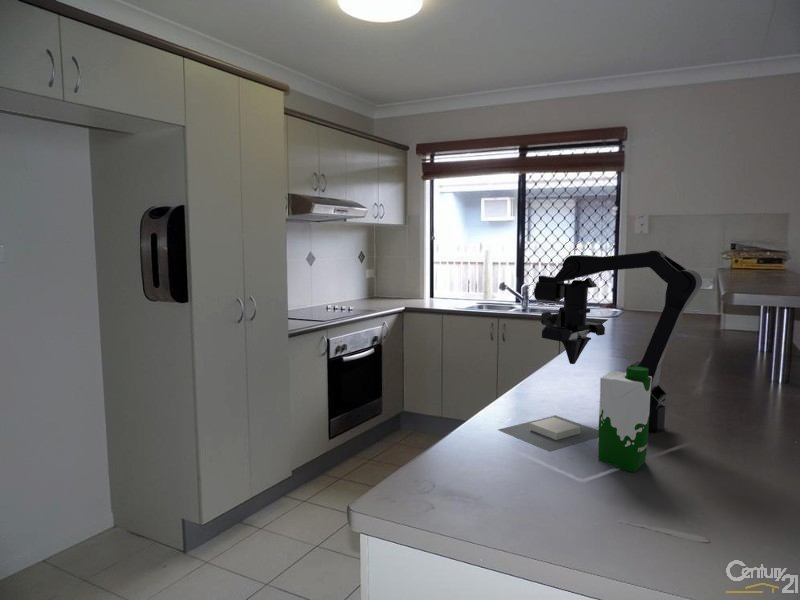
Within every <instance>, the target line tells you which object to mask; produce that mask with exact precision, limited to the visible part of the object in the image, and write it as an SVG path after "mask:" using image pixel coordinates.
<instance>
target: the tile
mask: <svg viewBox="0 0 800 600" xmlns="http://www.w3.org/2000/svg"><path fill="white" fill-rule="evenodd" d="M530 430H532V431H534V432H536V433H539V434H541V435H544V436H547V437H549V438H552V439H554V440H559V439H562V438H566V437H570V436H573V435H577V434H580V426H577V425H574V424H571V423H568V422H566V421H563V420H560V419H557V418H554V417H553V418H549V419H544V420H540V421H536V422H532V423H530Z"/></svg>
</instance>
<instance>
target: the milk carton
mask: <svg viewBox="0 0 800 600" xmlns="http://www.w3.org/2000/svg"><path fill="white" fill-rule="evenodd" d="M648 372H649V369H648V368H645V367H640V366H630V365H629V366H627V367H626V371H625V372H622V371H617V370H616V371H614V370H612V371H611V372H608V373H606V374H605V375H602V376H601V377H599V379H600V381H599V382H600V383H599V385H600V386H599V387H600V388H599V392H600V393H599V412H598V416H599V417H598V430H599V432H598V438H597V440H598V441H597V444H598V448H597V449H598V454H597V455H598V462H599V463H600V462H601V463H604V464H609V465H612V466H615V469H618V468H619V469H618V470H622V471H626V470H627V471H626V472H630V471H631V472H630V473H634V472H635V473H636V472H637V471H638V470H639V469H640V468H641V467H642V466H643V465H644V464H645V462H646V458H647V451H648V442H649V432H648V428H649V410H650V394H651V383H652V377H651V376H648Z"/></svg>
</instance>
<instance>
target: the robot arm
mask: <svg viewBox="0 0 800 600" xmlns="http://www.w3.org/2000/svg"><path fill="white" fill-rule="evenodd" d="M643 268H650V269H651V270H652V271H653V272H654V273H655V274H657V276H658V277H659V278H660V279H661V280H663V281H664V282H665V283H666V284H667V285H666V290H665V298H664V299H665V300H664V307H663V309H662V311H661V314H660V316H659V319H658V322H657V324H656V326H655V328H654V331H653V333H652V336H651V338H650V340H649V342H648V345H647V348H646V350H645V352H644V355H643V358H642V359H641V361H638V360H637V361H636V362H634V363H632V364H631V365H629V366H640V367H645V368H648V369H649V372H648V376H651V377H652V383H651V394H650V410H649V428H648V434H657V433H660V432H662V431H666V430H668V429H669V428H668V427H666V426H665V425H666V424H665V422H666V421H665V420H666V409H667V408H666V406H665V405H663V403H665V401H666V399H667V397H668V393H667V392H666V391H665V390H664V389H663V388H662V387H661V385H659V381H660V377H661V368H662V362H663V360H664V358H665V355H666V352H667V351H668V348H669V346H670V344H671V342H672V339H673V337H674V334H675V332H676V329H678V326H679V323H680V321H681V318H682V317H683V314H684V311H685V310H686V308H687V307H688V306H689V305H690V303H691V302H692V301H693V300H694V298H695V297H696V295H697V294H698V292H699V291H700V290H701V288H702V285H703V279H702V277H701V275H700V274H699V273H698V271H695V270H693V269H687V268H685V267H684V266H682V265H681V264H680V263H678V262H676V260H673V258H671V257H669V256H667V255H666V254H665V253H664V252H663V251H661V250H649V251H646V252H645V251H644V252H636V253H634V252H633V253H626V254H616V255H607V256H598V255H587V254H585V255H584V254H577V255H576V254H575V255H574V254H573V255H572V254H571V255H569V256H567V257H566V258H565V259H564V260H563V263H562V267H561V269H560V270H559V271H558V272H557V273H556V275H555V276H548V275H539V276H538V280H537V282H536V283H535V286H534V288H533V296H534V299H535V301H538V302H548V303H559V302H561V300H563V306H562V307H561V306H560V307H559V309H558V312H557V313H553V314H552V312H551V311H545V312H541V316H540V324H542V325H543V326H544V327H543V329H541V338H542V339H546V340H551V341H556V342H561V343H562V344H563V346H564V349H565V353H566V356H567V359H568V362H569V364H570V365H575V364H576V362H577V361H578V359H579V357H580V355H581V353H582V352H583V351H584V349H585V347H586V346H587V345H588V343H589V341H591V340H592V337H588V334H587V333H592V334H595V335H596V336H598V337H599V336H604V335H606V334H605V332H606V327H605V325H603V323H599V322H591V321H587V314H590V313H591V308H588V293H589V292H588V291H589V289H592V288H596V287H597V284H596V282H594V281H593V279H592V278H591V277H588V276H592V275H597V274H599V273H602V272H609V271H620V270H632V269H633V270H634V269H643ZM585 277H586V278H585ZM578 278H585V279H584V280H580V279H578ZM567 281H571V283H570V282H569V283H567Z"/></svg>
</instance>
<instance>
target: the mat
mask: <svg viewBox="0 0 800 600" xmlns="http://www.w3.org/2000/svg"><path fill="white" fill-rule="evenodd" d="M553 417H554V418H557V419H560V420H563V421H566V422H568V423H571V424H574V425H577V426H580V434H577V435H573V436H570V437H566V438H562V439H559V440H554V439H552V438H549V437H547V436H544V435H541V434H539V433H536V432H534V431H532V430H530V423H532V422H536V421H540V420H544V419H549V418H553ZM497 430H498V431H499V432H502V433H504V434H506V435H509V436H512V437H514V438H516V439H519V440H521V441H523V442H526V443H527V444H531V445H532V446H536V447H537V448H539V449H542V450H544V451H546V452H548V453H549V452H550V453H551V452H553V451H556V450H560V449H563V448H567V447H571V446H573V445H578V444H580V443H584V442H588V441H591V440H595V439H598V432H599V429H596V428H594V427H590V426H588V425H585V424H581V423H579V422H575V421H574V420H570V419H568V418H564V417H562V416H558V415H552V416H547V417H544V418H540V419H536V420H532V421H527V422H523V423H519V424H515V425H510V426H507V427H503V428H499V429H497Z"/></svg>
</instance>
